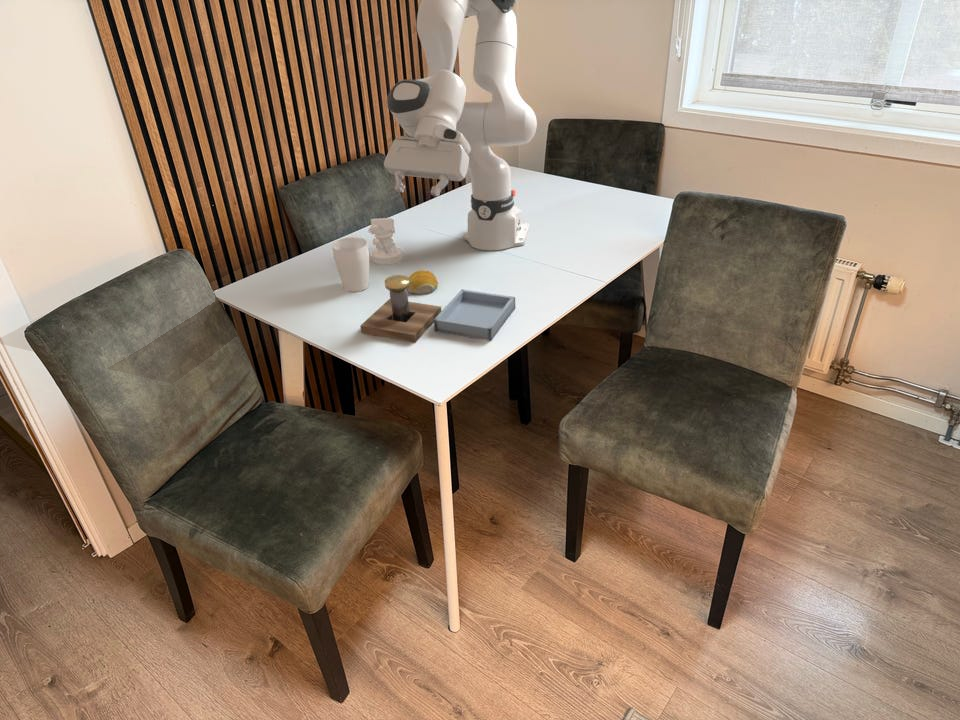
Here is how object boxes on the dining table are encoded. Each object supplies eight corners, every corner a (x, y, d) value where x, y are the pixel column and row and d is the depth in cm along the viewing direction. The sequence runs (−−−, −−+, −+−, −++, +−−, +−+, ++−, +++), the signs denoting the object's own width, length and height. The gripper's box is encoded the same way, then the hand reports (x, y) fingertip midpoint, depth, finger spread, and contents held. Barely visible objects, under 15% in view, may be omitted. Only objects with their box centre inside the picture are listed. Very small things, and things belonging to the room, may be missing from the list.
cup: (336, 283, 178) (328, 240, 172) (369, 276, 180) (363, 234, 174) (342, 297, 171) (335, 253, 164) (377, 290, 173) (370, 247, 167)
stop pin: (397, 316, 161) (392, 273, 155) (418, 319, 159) (413, 276, 153) (386, 327, 156) (380, 284, 150) (407, 330, 155) (402, 287, 149)
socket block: (390, 305, 165) (389, 298, 164) (441, 313, 161) (441, 306, 160) (361, 333, 155) (360, 325, 154) (415, 342, 150) (414, 334, 149)
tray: (462, 300, 166) (461, 289, 165) (515, 308, 161) (515, 297, 160) (434, 331, 154) (433, 319, 152) (491, 340, 149) (490, 328, 147)
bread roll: (434, 278, 178) (433, 264, 176) (440, 292, 171) (439, 278, 169) (404, 282, 177) (402, 268, 175) (408, 297, 170) (407, 282, 167)
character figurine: (370, 265, 187) (364, 224, 180) (375, 251, 195) (369, 211, 188) (401, 264, 186) (396, 223, 180) (405, 250, 194) (400, 210, 188)
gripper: (389, 128, 155) (371, 182, 153) (467, 133, 147) (449, 190, 145) (401, 142, 161) (384, 195, 159) (477, 149, 153) (460, 204, 151)
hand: (416, 193), depth 152 cm, fingers open, 8 cm apart
